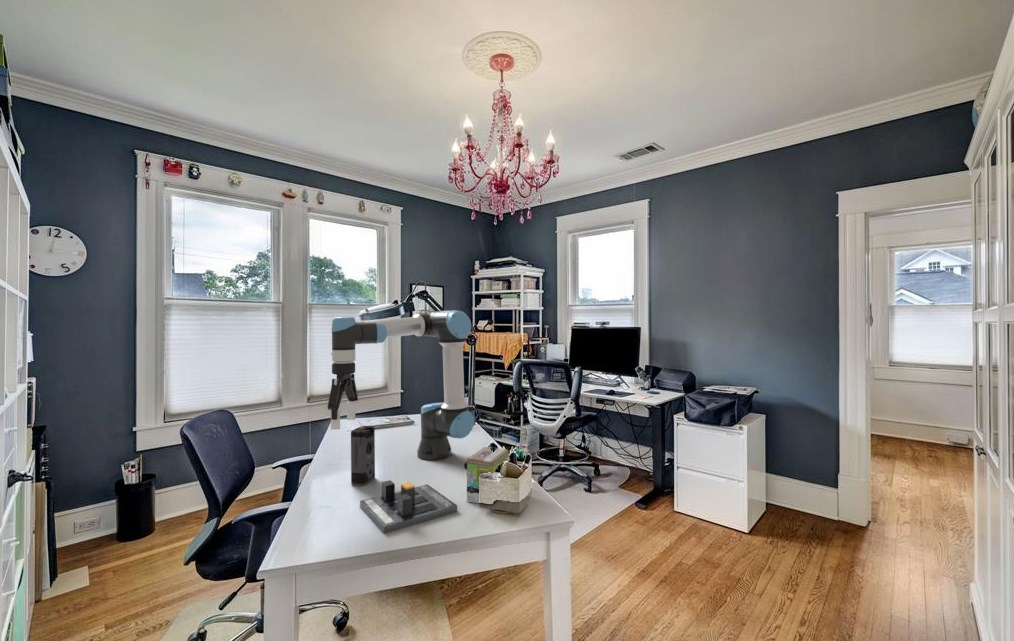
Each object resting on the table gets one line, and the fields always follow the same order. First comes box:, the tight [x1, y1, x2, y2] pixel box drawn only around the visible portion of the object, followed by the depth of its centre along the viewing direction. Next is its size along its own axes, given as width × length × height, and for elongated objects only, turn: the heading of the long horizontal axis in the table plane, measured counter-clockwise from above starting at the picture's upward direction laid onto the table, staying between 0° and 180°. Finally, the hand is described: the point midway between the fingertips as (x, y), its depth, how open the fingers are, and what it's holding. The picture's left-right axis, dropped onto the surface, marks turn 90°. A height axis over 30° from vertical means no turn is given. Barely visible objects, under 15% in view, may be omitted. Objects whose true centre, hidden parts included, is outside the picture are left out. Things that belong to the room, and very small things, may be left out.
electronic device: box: [350, 425, 376, 487], centre depth 167 cm, size 9×6×20 cm, turn 168°
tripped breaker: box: [400, 481, 416, 504], centre depth 143 cm, size 3×4×6 cm
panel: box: [359, 479, 458, 535], centre depth 143 cm, size 24×22×7 cm
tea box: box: [466, 446, 510, 504], centre depth 153 cm, size 15×10×15 cm
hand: (343, 424), depth 151 cm, fingers open, 13 cm apart
